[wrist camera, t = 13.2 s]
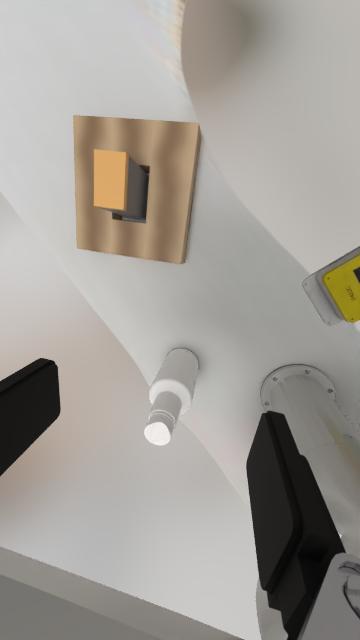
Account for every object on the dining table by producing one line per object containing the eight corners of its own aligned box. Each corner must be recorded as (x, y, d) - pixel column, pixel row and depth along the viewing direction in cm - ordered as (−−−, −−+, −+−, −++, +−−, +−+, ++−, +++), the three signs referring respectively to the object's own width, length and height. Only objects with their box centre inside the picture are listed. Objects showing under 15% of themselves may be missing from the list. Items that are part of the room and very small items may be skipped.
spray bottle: (161, 369, 44) (125, 442, 27) (171, 342, 42) (139, 403, 25) (191, 382, 44) (174, 464, 27) (204, 355, 42) (192, 426, 25)
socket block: (201, 136, 31) (198, 123, 28) (184, 262, 37) (180, 264, 34) (87, 128, 33) (73, 115, 30) (88, 248, 39) (76, 248, 36)
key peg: (152, 179, 34) (126, 152, 24) (148, 220, 36) (123, 209, 26) (128, 177, 34) (94, 149, 25) (126, 217, 36) (93, 205, 27)
